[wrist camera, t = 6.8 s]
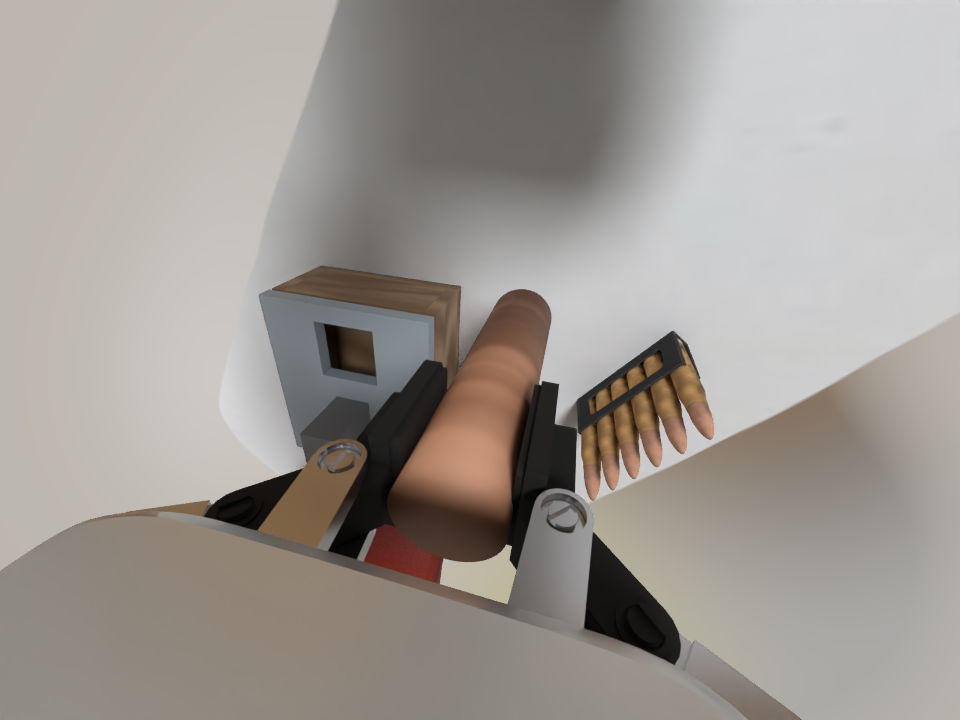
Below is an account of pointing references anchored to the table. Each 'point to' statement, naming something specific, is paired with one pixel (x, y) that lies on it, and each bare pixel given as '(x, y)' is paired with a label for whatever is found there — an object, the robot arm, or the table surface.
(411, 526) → the brown rounded cylinder
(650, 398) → the ammunition clip
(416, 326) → the toolbox lid
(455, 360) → the brown hollow box
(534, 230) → the table surface
